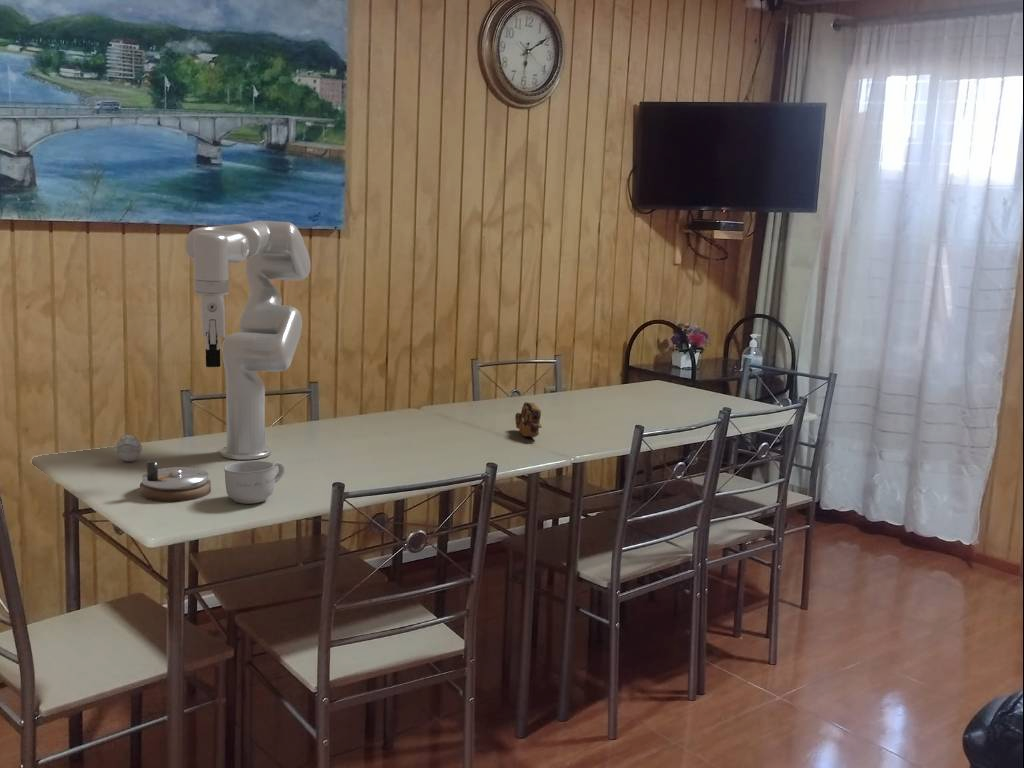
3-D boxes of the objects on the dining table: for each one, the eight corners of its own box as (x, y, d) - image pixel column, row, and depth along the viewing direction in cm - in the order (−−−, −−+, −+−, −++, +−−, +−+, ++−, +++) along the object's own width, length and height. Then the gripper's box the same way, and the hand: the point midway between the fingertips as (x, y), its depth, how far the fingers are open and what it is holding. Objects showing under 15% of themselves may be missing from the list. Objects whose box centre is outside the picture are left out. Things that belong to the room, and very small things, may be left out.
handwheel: (163, 494, 212) (162, 469, 211) (130, 480, 221) (129, 456, 220) (220, 482, 222) (220, 459, 221) (187, 470, 231) (186, 447, 230)
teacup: (235, 510, 211) (234, 474, 209) (217, 497, 220) (216, 462, 218) (296, 501, 219) (296, 466, 218) (276, 488, 228) (276, 454, 226)
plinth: (141, 484, 226) (141, 475, 226) (209, 481, 231) (209, 472, 231) (138, 503, 212) (138, 494, 212) (211, 499, 217) (211, 491, 217)
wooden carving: (508, 430, 296) (510, 397, 294) (522, 429, 298) (524, 397, 296) (531, 443, 281) (533, 409, 279) (546, 442, 283) (547, 408, 281)
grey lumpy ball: (113, 465, 241) (112, 437, 239) (118, 458, 247) (118, 430, 246) (140, 465, 242) (139, 437, 240) (144, 457, 248) (144, 430, 247)
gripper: (229, 291, 220) (231, 372, 224) (227, 284, 234) (229, 360, 238) (194, 291, 218) (196, 373, 222) (194, 283, 232) (196, 360, 236)
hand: (213, 366), depth 230 cm, fingers closed
